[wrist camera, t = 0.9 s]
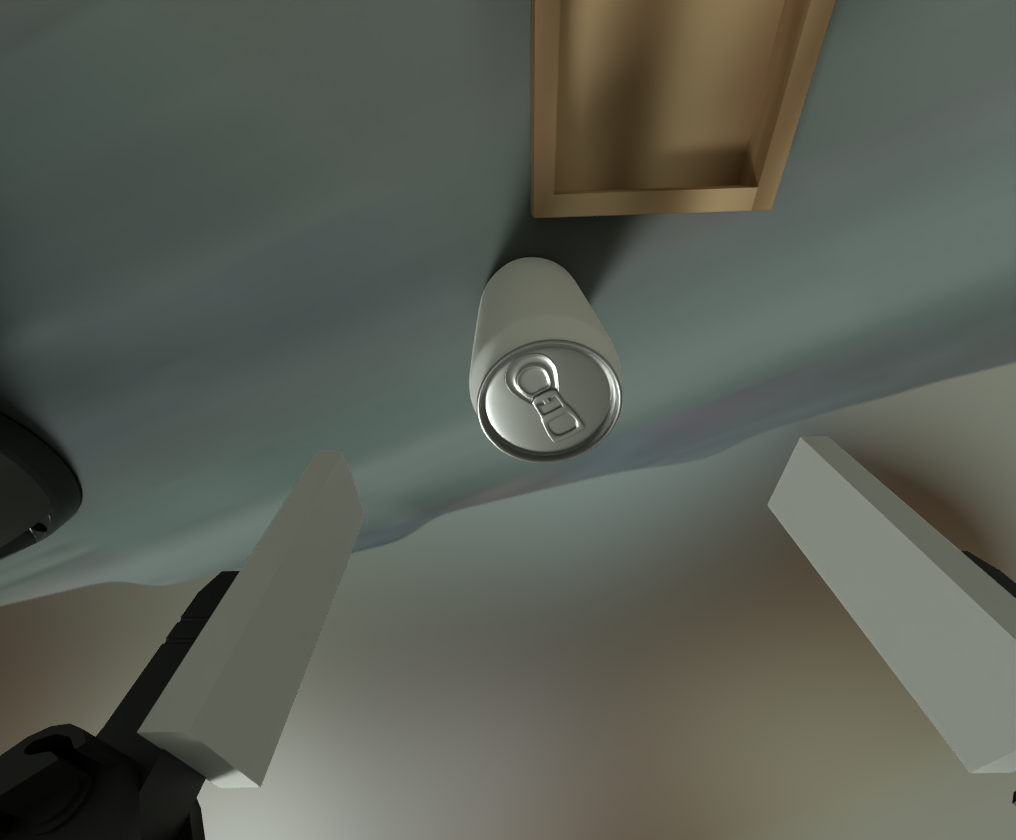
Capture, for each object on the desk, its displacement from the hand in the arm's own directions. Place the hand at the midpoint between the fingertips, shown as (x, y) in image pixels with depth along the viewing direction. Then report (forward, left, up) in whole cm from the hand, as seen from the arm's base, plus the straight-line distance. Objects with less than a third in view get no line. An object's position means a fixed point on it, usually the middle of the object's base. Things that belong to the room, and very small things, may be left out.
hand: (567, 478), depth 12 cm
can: (0, 0, -16) cm, 16 cm away
